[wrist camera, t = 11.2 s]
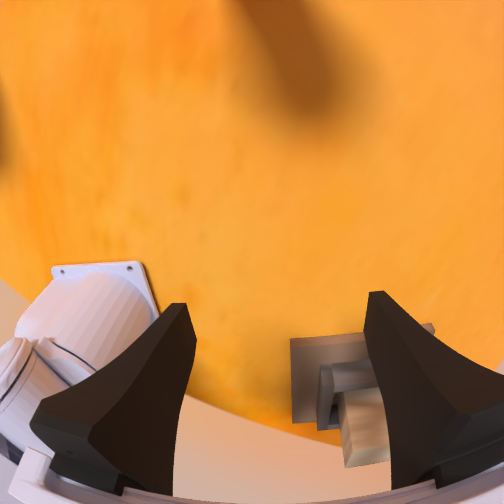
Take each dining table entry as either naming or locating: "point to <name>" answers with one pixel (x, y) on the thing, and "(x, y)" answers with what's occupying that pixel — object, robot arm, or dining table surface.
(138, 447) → the robot arm
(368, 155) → the dining table surface
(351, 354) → the socket block
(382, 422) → the square peg
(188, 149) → the dining table surface
